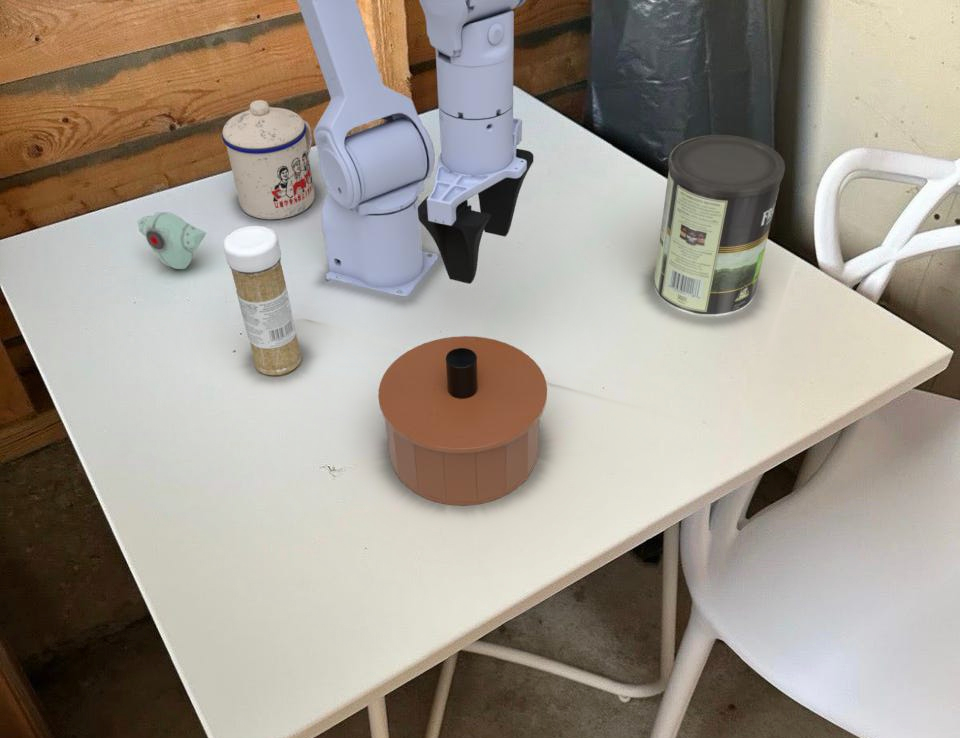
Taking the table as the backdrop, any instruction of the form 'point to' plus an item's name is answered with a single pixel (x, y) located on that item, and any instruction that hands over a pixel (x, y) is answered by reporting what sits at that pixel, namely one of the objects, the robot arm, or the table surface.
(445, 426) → the lid
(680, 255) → the coffee can
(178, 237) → the robot head
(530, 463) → the tin
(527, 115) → the table surface
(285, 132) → the teacup with lid
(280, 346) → the spice jar
